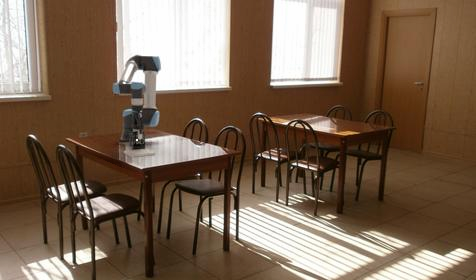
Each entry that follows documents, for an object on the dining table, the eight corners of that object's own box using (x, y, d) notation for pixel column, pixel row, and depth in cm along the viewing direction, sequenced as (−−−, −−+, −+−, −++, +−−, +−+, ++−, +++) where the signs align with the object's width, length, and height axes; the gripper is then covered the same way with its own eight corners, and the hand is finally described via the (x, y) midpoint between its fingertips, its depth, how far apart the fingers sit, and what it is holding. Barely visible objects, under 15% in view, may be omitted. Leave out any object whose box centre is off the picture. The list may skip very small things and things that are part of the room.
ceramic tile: (123, 153, 308) (123, 150, 307) (146, 150, 316) (146, 148, 316) (130, 157, 296) (130, 155, 296) (154, 154, 304) (154, 152, 304)
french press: (142, 147, 326) (141, 114, 322) (149, 149, 319) (148, 116, 315) (127, 149, 318) (126, 116, 314) (134, 152, 312) (133, 117, 307)
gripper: (126, 103, 320) (127, 135, 324) (137, 106, 302) (138, 140, 306) (137, 102, 324) (137, 134, 328) (148, 106, 306) (148, 139, 310)
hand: (137, 137), depth 317 cm, fingers closed on french press, 9 cm apart
